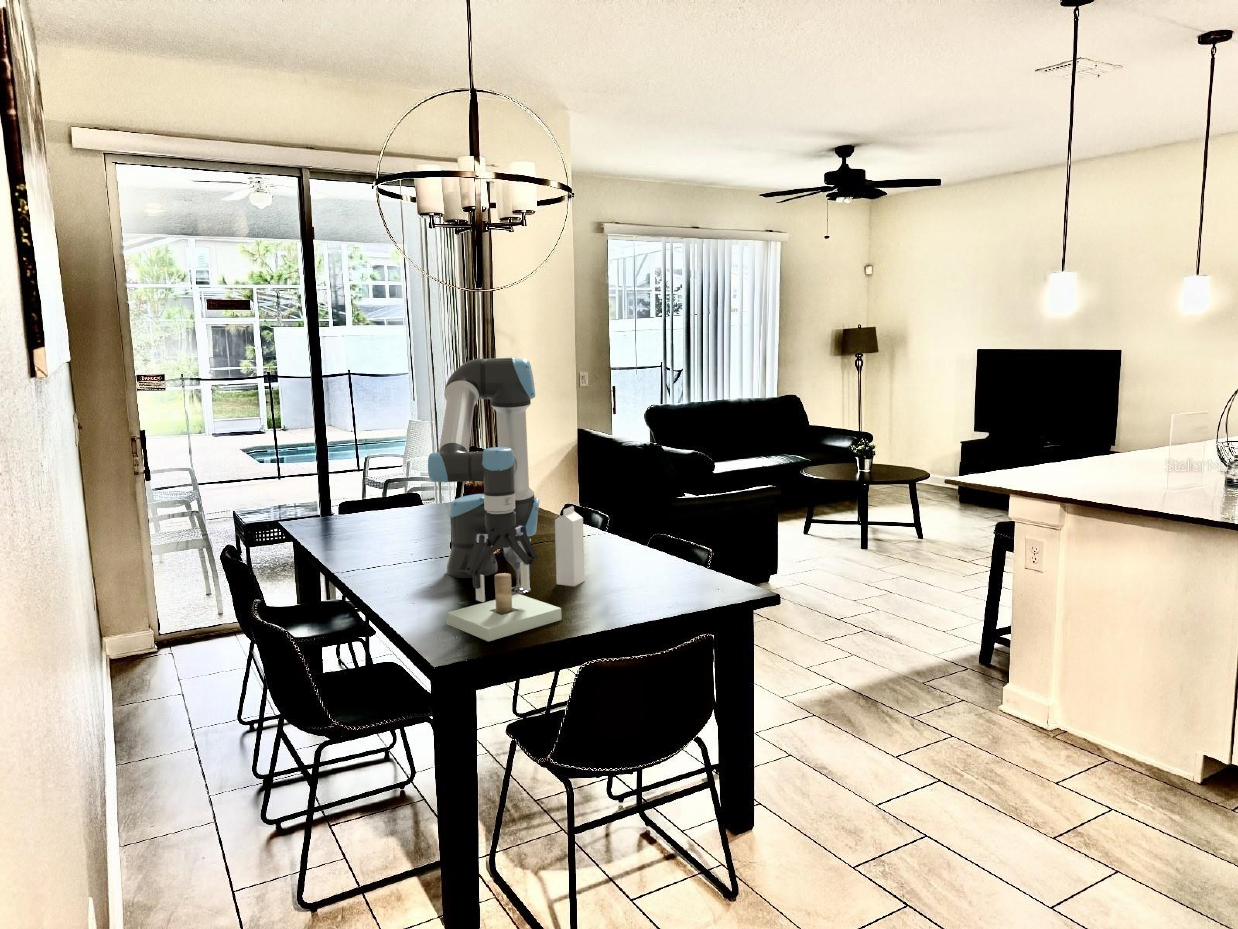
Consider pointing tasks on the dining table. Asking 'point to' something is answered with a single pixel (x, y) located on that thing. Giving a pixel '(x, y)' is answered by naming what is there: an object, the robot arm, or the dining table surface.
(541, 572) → the dining table surface
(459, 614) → the board
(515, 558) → the wine glass
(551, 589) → the dining table surface
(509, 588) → the peg
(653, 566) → the dining table surface
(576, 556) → the milk
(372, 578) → the dining table surface
